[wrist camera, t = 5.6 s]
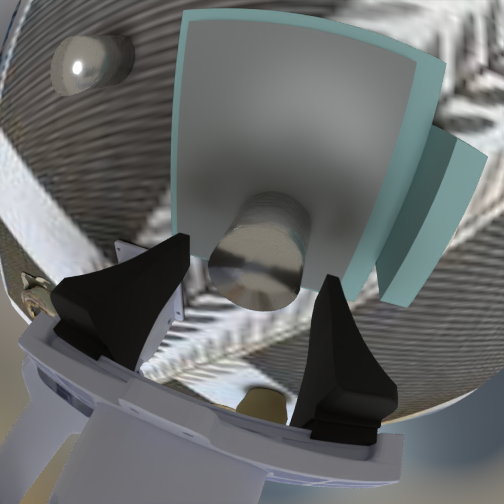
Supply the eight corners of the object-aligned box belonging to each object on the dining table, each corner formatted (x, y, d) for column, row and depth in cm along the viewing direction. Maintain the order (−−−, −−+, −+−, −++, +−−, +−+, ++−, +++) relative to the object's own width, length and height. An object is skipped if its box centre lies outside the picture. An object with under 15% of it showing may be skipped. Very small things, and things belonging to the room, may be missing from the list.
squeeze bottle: (250, 378, 36) (210, 490, 22) (300, 394, 36) (272, 504, 22) (237, 394, 41) (203, 487, 27) (281, 408, 41) (254, 501, 27)
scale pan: (334, 287, 19) (334, 295, 19) (182, 244, 21) (177, 250, 20) (412, 62, 9) (417, 62, 9) (195, 22, 11) (188, 21, 10)
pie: (71, 286, 38) (54, 306, 34) (127, 370, 54) (117, 386, 50) (10, 261, 44) (-2, 274, 41) (58, 335, 61) (49, 347, 57)
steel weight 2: (302, 262, 18) (290, 320, 14) (237, 245, 18) (208, 297, 15) (318, 201, 15) (310, 252, 11) (242, 184, 16) (207, 227, 12)
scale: (378, 288, 21) (382, 345, 17) (185, 234, 23) (150, 277, 19) (461, 80, 10) (512, 88, 6) (200, 16, 12) (148, 0, 8)
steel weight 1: (133, 83, 16) (87, 93, 12) (94, 86, 17) (50, 98, 13) (137, 31, 13) (90, 30, 10) (97, 39, 14) (52, 43, 10)
